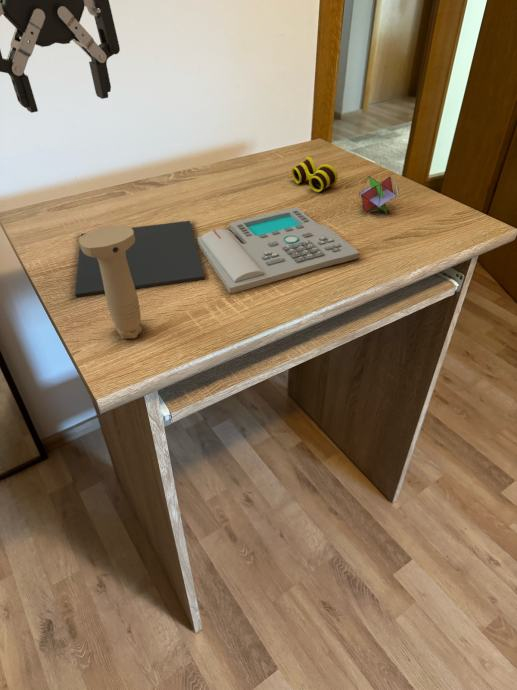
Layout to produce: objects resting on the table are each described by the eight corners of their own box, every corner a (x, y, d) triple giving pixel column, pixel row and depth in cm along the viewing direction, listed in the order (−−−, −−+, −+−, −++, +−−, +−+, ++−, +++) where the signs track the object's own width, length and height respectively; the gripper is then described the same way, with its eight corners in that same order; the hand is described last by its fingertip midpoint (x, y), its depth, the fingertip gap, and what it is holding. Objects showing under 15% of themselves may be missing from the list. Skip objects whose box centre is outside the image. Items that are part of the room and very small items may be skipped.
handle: (159, 333, 67) (139, 235, 58) (115, 351, 65) (87, 252, 55) (144, 316, 71) (123, 220, 61) (102, 332, 68) (73, 235, 58)
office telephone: (229, 281, 73) (187, 225, 87) (230, 295, 74) (189, 238, 88) (361, 245, 80) (302, 198, 93) (359, 259, 81) (301, 211, 95)
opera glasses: (290, 184, 108) (287, 163, 104) (308, 173, 109) (305, 152, 106) (321, 198, 102) (319, 176, 98) (339, 187, 103) (337, 165, 100)
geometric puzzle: (363, 212, 90) (390, 173, 87) (343, 198, 95) (369, 161, 92) (385, 227, 94) (412, 191, 92) (365, 213, 99) (390, 178, 96)
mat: (75, 297, 75) (74, 294, 74) (81, 236, 89) (80, 233, 89) (204, 279, 78) (204, 276, 77) (190, 223, 93) (189, 220, 92)
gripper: (78, -79, 52) (111, 87, 63) (-67, -76, 46) (-3, 108, 57) (107, -80, 48) (137, 99, 58) (-50, -78, 41) (16, 123, 52)
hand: (68, 103), depth 57 cm, fingers open, 8 cm apart
